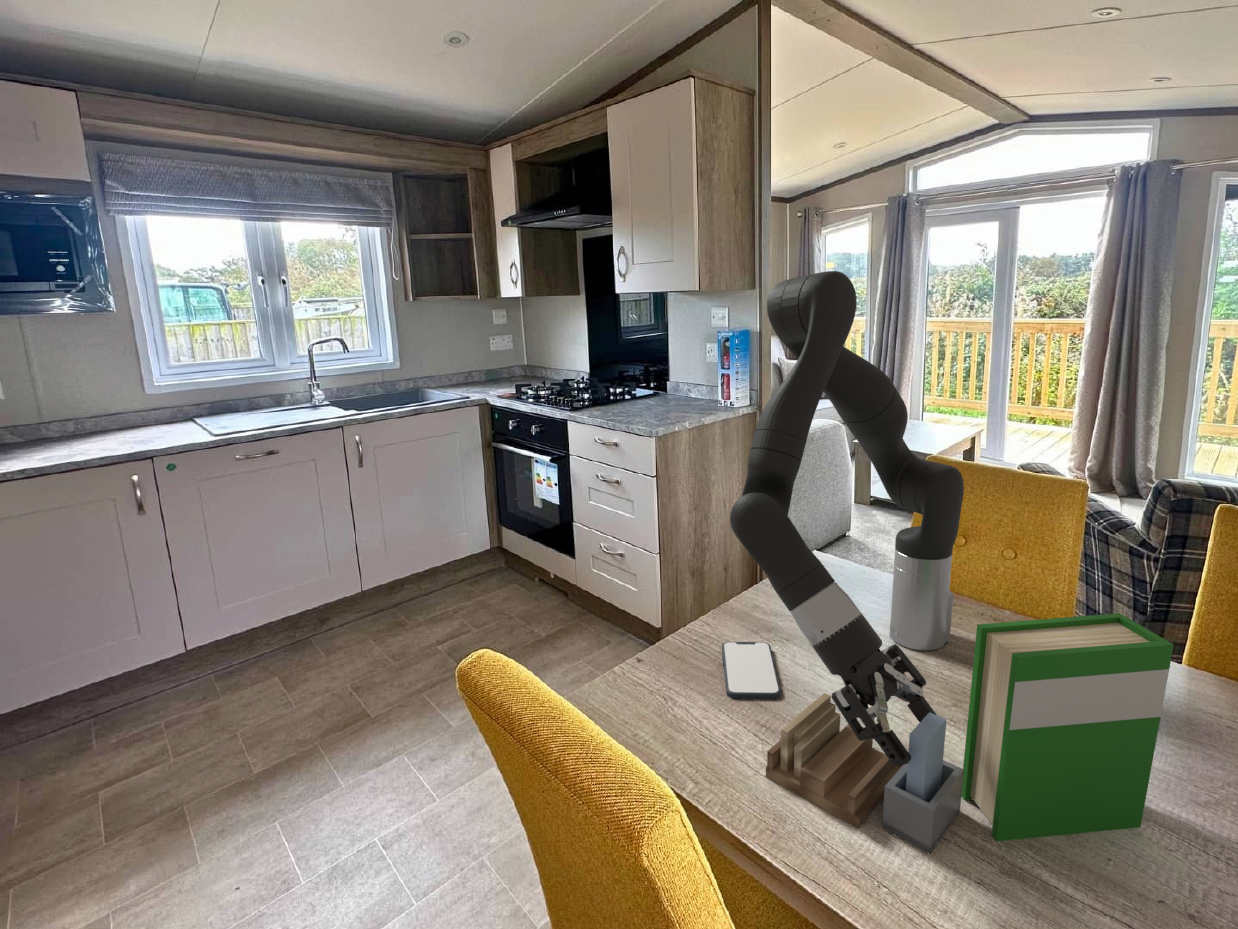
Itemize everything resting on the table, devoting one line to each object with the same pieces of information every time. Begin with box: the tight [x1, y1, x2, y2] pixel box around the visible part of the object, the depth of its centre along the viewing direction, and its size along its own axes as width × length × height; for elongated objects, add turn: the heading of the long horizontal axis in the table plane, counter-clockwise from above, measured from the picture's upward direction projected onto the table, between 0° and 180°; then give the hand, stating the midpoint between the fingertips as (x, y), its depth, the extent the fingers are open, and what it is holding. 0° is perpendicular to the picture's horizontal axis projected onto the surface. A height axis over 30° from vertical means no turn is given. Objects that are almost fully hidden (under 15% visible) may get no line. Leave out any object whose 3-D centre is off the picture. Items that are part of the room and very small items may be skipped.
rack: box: [765, 723, 903, 829], centre depth 89 cm, size 13×13×4 cm
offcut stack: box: [780, 692, 841, 778], centre depth 91 cm, size 3×11×6 cm, turn 134°
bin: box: [881, 759, 964, 855], centre depth 81 cm, size 6×9×6 cm, turn 134°
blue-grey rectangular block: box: [906, 712, 948, 803], centre depth 80 cm, size 2×6×12 cm, turn 134°
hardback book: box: [961, 612, 1175, 843], centre depth 79 cm, size 18×7×24 cm, turn 94°
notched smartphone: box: [721, 641, 782, 700], centre depth 114 cm, size 9×2×16 cm
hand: (920, 745), depth 80 cm, fingers open, 8 cm apart
